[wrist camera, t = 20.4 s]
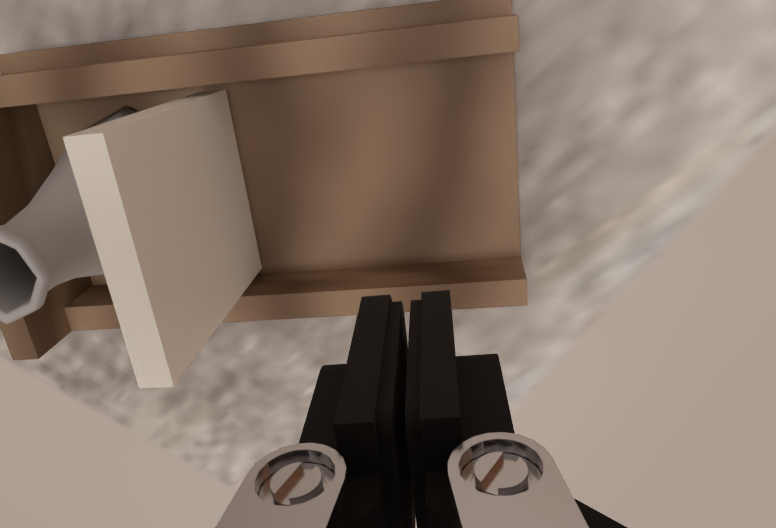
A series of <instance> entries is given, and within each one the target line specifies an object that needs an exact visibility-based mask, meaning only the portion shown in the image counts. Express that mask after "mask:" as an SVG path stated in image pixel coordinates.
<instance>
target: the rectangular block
mask: <svg viewBox="0 0 776 528" xmlns="http://www.w3.org/2000/svg"><path fill="white" fill-rule="evenodd" d="M63 140H64V144H65V147H66V150H67V153H68V157H69V160H70V163H71V167H72V170H73V173H74V176H75V180H76V183H77V186H78V190H79V193H80V196H81V199H82V203H83V206H84V209H85V213H86V216H87V219H88V222H89V226H90V229H91V232H92V236H93V239H94V242H95V245H96V249H97V252H98V255H99V259H100V262H101V265H102V268H103V272H104V275H105V278H106V282H107V285H108V288H109V291H110V295H111V298H112V301H113V304H114V308H115V311H116V314H117V318H118V321H119V324H120V327H121V331H122V334H123V337H124V341H125V344H126V347H127V350H128V354H129V357H130V360H131V364H132V367H133V370H134V373H135V377H136V380H137V383H138V387H139V388H162V387H174V386H175V385H176V383H177V382H178V381H179V379H180V378H181V377H182V375H183V374H184V373H185V371H186V370H187V369H188V367H189V366H190V364H191V363H192V362H193V360H194V359H195V358H196V356H197V355H198V354H199V352H200V351H201V350H202V348H203V347H204V345H205V344H206V343H207V341H208V340H209V339H210V337H211V336H212V335H213V333H214V332H215V331H216V329H217V328H218V327H219V325H220V324H221V322H222V321H223V320H224V318H225V317H226V316H227V314H228V313H229V312H230V310H231V309H232V308H233V306H234V305H235V304H236V302H237V301H238V299H239V298H240V297H241V295H242V294H243V293H244V291H245V290H246V289H247V287H248V286H249V285H250V283H251V282H252V281H253V279H254V278H255V276H256V275H257V274H258V272H259V271H260V270H261V268H262V266H261V261H260V256H259V251H258V246H257V241H256V236H255V231H254V226H253V221H252V216H251V211H250V206H249V201H248V196H247V191H246V186H245V181H244V176H243V172H242V167H241V162H240V157H239V152H238V147H237V142H236V137H235V132H234V127H233V122H232V117H231V112H230V107H229V102H228V97H227V92H226V89H221V90H212V91H202V92H197V93H194V94H191V95H188V96H185V97H182V98H179V99H176V100H173V101H170V102H167V103H164V104H161V105H158V106H155V107H152V108H149V109H146V110H143V111H139V112H136V113H133V114H130V115H127V116H124V117H121V118H118V119H115V120H112V121H109V122H106V123H103V124H100V125H97V126H94V127H91V128H88V129H85V130H82V131H79V132H76V133H73V134H70V135H67V136H64V137H63Z"/></svg>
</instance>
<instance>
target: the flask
mask: <svg viewBox="0 0 776 528" xmlns="http://www.w3.org/2000/svg"><path fill="white" fill-rule="evenodd" d="M133 113H136V111H134V110H132V109H130V108H128V107H126V106H124V107H123V108H121V109H119V110H117V111H116V112H114V113H112V114H110V115H109V116H107V117H105V118H103V119H102V120H100V121H98V122H96V123H95V124H93V125H91V126H89V127H88V128H91V127H94V126H97V125H100V124H103V123H106V122H109V121H112V120H115V119H118V118H121V117H124V116H127V115H130V114H133ZM88 128H86V129H88ZM84 130H85V129H84ZM102 274H104V272H103V268H102V265H101V262H100V259H99V255H98V252H97V249H96V245H95V242H94V239H93V236H92V232H91V229H90V226H89V222H88V219H87V216H86V213H85V209H84V206H83V203H82V199H81V196H80V193H79V190H78V186H77V183H76V180H75V176H74V173H73V170H72V167H71V163H70V160H69V157H68V153H67V150H66V149H65V150H64V152H63V154H62V155H61V157H60V159H59V160H58V162H57V164H56V165H55V167H54V169H53V170H52V172H51V173H50V175H49V176H48V178H47V179H46V180H45V182H44V183H43V185H42V186H41V188H40V189H39V190H38V192H37V193H36V195H35V196H34V197H33V199H32V200H31V202H30V203H29V205H27V206H26V207H25V208H24V209H23V210H21V211H20V212H19V213H18V214H17V215H16V216H14V217H13V218H12V219H11V220H10V221H8V222H7V223H6V224H5V225H1V226H0V322H3V323H5V324H7V325H8V324H10V323H12V322H14V321H16V320H18V319H20V318H22V317H24V316H26V315H28V314H30V313H32V312H34V311H36V310H38V309H40V308H41V307H42V306H43V304H44V302H45V299H46V296H47V292H48V291H49V290H51V289H52V288H54V287H55V286H57V285H58V284H61V283H63V282H66V281H69V280H71V279H74V278H80V277H87V276H94V275H102Z"/></svg>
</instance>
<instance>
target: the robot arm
mask: <svg viewBox="0 0 776 528" xmlns="http://www.w3.org/2000/svg"><path fill="white" fill-rule="evenodd" d="M415 515H416V522H417V528H627V527H625V526H623V525H621V524H620V523H618V522H616V521H614V520H612V519H611V518H609V517H607V516H605V515H603V514H601V513H600V512H598V511H596V510H594V509H592V508H590V507H589V506H587V505H585V504H583V503H581V502H580V501H578V500H576V499H574V498H573V496H572V494H571V492H570V490H569V488H568V486H567V484H566V482H565V480H564V478H563V477H562V475H561V473H560V471H559V469H558V467H557V465H556V463H555V461H554V459H553V457H552V456H551V455H550V454H549V452H548V451H547V450H546V448H544V447H543V446H542V445H540V444H539V443H537V442H536V441H534V440H533V439H530V438H527V437H525V436H522V435H519V434H514V429H513V424H512V419H511V414H510V410H509V405H508V400H507V395H506V390H505V386H504V381H503V376H502V371H501V366H500V362H499V357H498V354H485V355H470V356H455V344H454V333H453V321H452V309H451V297H450V290H441V291H428V292H421V300H411V305H410V324H409V343H408V344H407V335H406V326H405V318H404V309H403V303H402V301H396V302H392V298H391V295H377V296H364V297H362V298H361V302H360V306H359V311H358V315H357V320H356V324H355V329H354V333H353V338H352V342H351V346H350V351H349V355H348V360H347V364H337V365H324V366H322V368H321V370H320V373H319V376H318V380H317V383H316V387H315V390H314V393H313V397H312V400H311V404H310V407H309V411H308V414H307V417H306V421H305V424H304V428H303V431H302V434H301V438H300V441H299V443H298V444H293V445H289V446H285V447H282V448H279V449H277V450H275V451H273V452H271V453H269V454H267V455H266V456H264V457H263V458H262V459H260V460H259V461H258V462H256V463H255V465H254V466H253V467H252V468H251V470H250V471H249V472H248V473H247V475H246V477H245V478H244V480H243V482H242V483H241V485H240V487H239V488H238V490H237V492H236V494H235V495H234V497H233V499H232V500H231V502H230V504H229V505H228V507H227V509H226V511H225V512H224V514H223V516H222V517H221V519H220V521H219V522H218V524H217V526H216V527H215V528H415Z"/></svg>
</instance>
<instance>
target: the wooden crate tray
mask: <svg viewBox="0 0 776 528" xmlns="http://www.w3.org/2000/svg"><path fill="white" fill-rule="evenodd" d="M514 51H519V26H518V15H512V0H444V1H436V2H427V3H419V4H411V5H403V6H395V7H387V8H378V9H370V10H362V11H354V12H346V13H337V14H329V15H321V16H313V17H305V18H296V19H288V20H280V21H272V22H264V23H256V24H247V25H239V26H231V27H223V28H215V29H206V30H198V31H190V32H182V33H174V34H165V35H157V36H149V37H141V38H133V39H125V40H116V41H108V42H100V43H92V44H84V45H75V46H67V47H59V48H51V49H43V50H34V51H26V52H18V53H10V54H2V55H0V73H1V75H0V226H1V225H5V224H6V223H7V222H8V221H10V220H11V219H12V218H13V217H14V216H16V215H17V214H18V213H19V212H20V211H21V210H23V209H24V208H25V207H26V206H27V205H29V203H30V202H31V200H32V199H33V197H34V196H35V195H36V193H37V192H38V190H39V189H40V188H41V186H42V185H43V183H44V182H45V180H46V179H47V178H48V176H49V175H50V173H51V172H52V170H53V169H54V167H55V165H56V164H57V162H58V160H59V159H60V157H61V155H62V154H63V152H64V150H65V149H66V147H65V144H64V140H63V137H64V136H67V135H70V134H73V133H76V132H79V131H82V130H84V129H86V128H88V127H89V126H91V125H93V124H95V123H96V122H98V121H100V120H102V119H103V118H105V117H107V116H109V115H110V114H112V113H114V112H116V111H117V110H119V109H121V108H123V107H124V106H126V107H128V108H130V109H132V110H134V111H136V112H139V111H143V110H146V109H149V108H152V107H155V106H158V105H161V104H164V103H167V102H170V101H173V100H176V99H179V98H182V97H185V96H188V95H191V94H194V93H197V92H202V91H212V90H221V89H226V92H227V97H228V102H229V107H230V112H231V117H232V122H233V127H234V132H235V137H236V142H237V147H238V152H239V157H240V162H241V167H242V172H243V176H244V181H245V186H246V191H247V196H248V201H249V206H250V211H251V216H252V221H253V226H254V231H255V236H256V241H257V246H258V251H259V256H260V261H261V266H262V268H261V270H260V271H259V272H258V274H257V275H256V276H255V278H254V279H253V281H252V282H251V283H250V285H249V286H248V287H247V289H246V290H245V291H244V293H243V294H242V295H241V297H240V298H239V299H238V301H237V302H236V304H235V305H234V306H233V308H232V309H231V310H230V312H229V313H228V314H227V316H226V317H225V318H224V320H223V321H222V322H239V321H257V320H274V319H292V318H310V317H328V316H346V315H358V311H359V306H360V302H361V298H362V297H364V296H377V295H391V298H392V302H396V301H402V303H403V309H404V312H410V305H411V300H421V292H428V291H441V290H450V297H451V309H470V308H488V307H505V306H523V305H527V279H526V275H525V271H524V268H523V264H522V260H521V253H520V225H519V196H518V168H517V140H516V111H515V83H514V54H513V52H514ZM0 327H1V330H2V332H3V335H4V338H5V340H6V343H7V345H8V348H9V351H10V353H11V356H12V358H13V360H25V359H39V358H40V357H41V356H43V355H44V354H45V353H46V352H47V351H49V350H50V349H51V348H52V347H53V346H54V345H56V344H57V343H58V342H59V341H60V340H62V339H63V338H64V337H65V336H66V335H67V334H69V333H70V332H71V331H79V330H97V329H114V328H121V327H120V324H119V321H118V318H117V314H116V311H115V308H114V304H113V301H112V298H111V295H110V291H109V288H108V285H107V282H106V278H105V275H104V274H102V275H94V276H87V277H80V278H74V279H71V280H69V281H66V282H63V283H61V284H58V285H57V286H55V287H54V288H52V289H51V290H49V291H48V292H47V296H46V299H45V302H44V304H43V306H42V307H41V308H40V309H38V310H36V311H34V312H32V313H30V314H28V315H26V316H24V317H22V318H20V319H18V320H16V321H14V322H12V323H10V324H8V325H7V324H5V323H3V322H0Z"/></svg>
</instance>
